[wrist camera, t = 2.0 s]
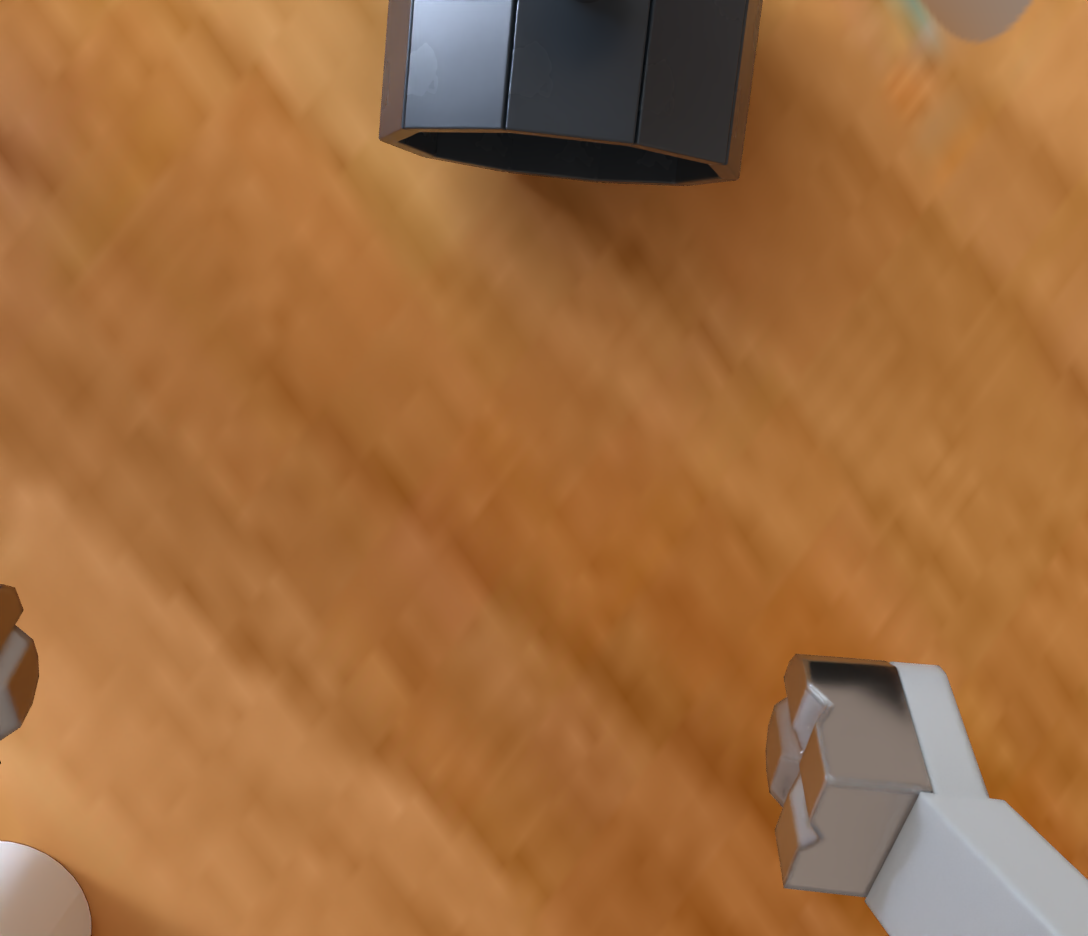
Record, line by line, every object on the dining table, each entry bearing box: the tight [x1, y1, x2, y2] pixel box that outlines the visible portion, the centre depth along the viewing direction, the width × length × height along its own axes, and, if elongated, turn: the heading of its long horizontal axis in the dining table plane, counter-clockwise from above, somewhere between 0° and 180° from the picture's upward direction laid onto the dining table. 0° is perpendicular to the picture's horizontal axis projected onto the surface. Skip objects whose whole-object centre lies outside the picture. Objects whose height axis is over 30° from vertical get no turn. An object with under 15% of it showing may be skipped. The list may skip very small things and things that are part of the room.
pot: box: [379, 0, 763, 186], centre depth 29 cm, size 8×11×17 cm
